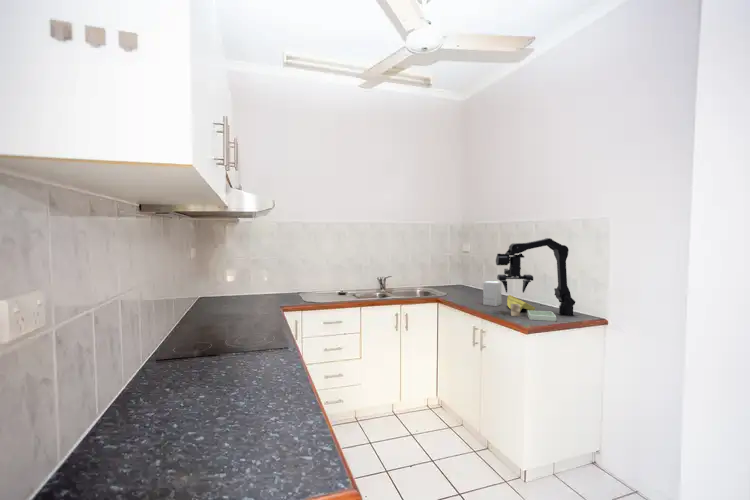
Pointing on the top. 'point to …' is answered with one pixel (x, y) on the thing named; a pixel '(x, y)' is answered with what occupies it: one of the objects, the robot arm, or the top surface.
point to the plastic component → (516, 301)
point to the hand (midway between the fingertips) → (514, 292)
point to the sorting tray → (541, 315)
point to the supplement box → (492, 293)
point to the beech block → (515, 310)
